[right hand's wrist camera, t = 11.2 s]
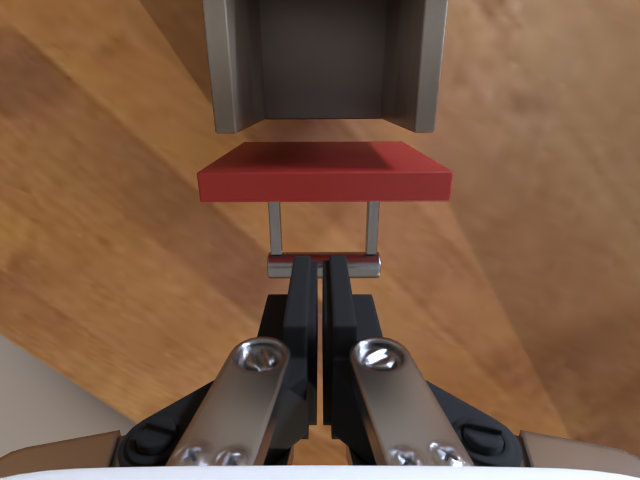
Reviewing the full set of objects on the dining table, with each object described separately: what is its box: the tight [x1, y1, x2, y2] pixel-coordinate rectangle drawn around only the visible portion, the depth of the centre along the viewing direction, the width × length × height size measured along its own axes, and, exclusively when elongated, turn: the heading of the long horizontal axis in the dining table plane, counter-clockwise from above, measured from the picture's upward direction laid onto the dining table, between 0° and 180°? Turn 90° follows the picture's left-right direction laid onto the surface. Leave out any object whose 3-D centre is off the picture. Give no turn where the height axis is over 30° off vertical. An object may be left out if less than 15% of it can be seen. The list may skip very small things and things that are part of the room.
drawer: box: [197, 0, 453, 278], centre depth 18 cm, size 21×10×10 cm, turn 0°
